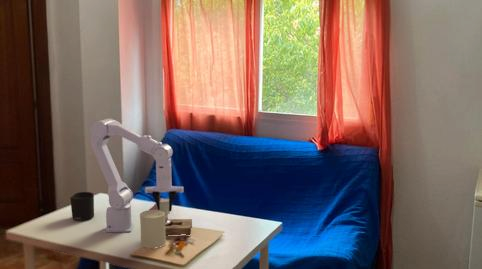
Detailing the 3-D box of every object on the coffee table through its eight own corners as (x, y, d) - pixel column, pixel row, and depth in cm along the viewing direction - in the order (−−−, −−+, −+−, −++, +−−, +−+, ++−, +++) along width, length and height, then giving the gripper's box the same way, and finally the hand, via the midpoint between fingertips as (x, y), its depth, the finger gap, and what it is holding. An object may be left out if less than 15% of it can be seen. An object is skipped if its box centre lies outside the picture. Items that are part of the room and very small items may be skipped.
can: (162, 249, 181) (161, 217, 178) (137, 248, 182) (136, 216, 180) (169, 239, 190) (168, 208, 187) (145, 238, 191) (144, 207, 189)
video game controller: (155, 219, 216) (161, 205, 214) (146, 213, 217) (152, 200, 215) (163, 211, 226) (169, 198, 224) (154, 206, 226) (160, 193, 224)
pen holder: (68, 217, 213) (66, 194, 212) (89, 212, 219) (87, 190, 218) (77, 223, 206) (75, 200, 204) (98, 218, 212) (97, 195, 211)
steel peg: (159, 225, 195) (158, 202, 193) (160, 222, 199) (160, 198, 197) (170, 225, 195) (169, 201, 193) (171, 221, 199) (170, 198, 197)
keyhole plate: (153, 236, 192) (153, 228, 192) (156, 227, 202) (156, 219, 201) (190, 236, 193) (190, 228, 192) (192, 226, 202) (191, 219, 202)
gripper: (143, 179, 189) (144, 214, 191) (182, 178, 189) (182, 213, 192) (146, 174, 196) (147, 208, 198) (183, 174, 196) (184, 207, 199)
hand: (164, 210), depth 196 cm, fingers closed on steel peg, 4 cm apart
